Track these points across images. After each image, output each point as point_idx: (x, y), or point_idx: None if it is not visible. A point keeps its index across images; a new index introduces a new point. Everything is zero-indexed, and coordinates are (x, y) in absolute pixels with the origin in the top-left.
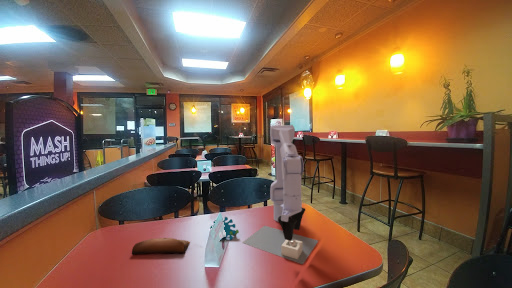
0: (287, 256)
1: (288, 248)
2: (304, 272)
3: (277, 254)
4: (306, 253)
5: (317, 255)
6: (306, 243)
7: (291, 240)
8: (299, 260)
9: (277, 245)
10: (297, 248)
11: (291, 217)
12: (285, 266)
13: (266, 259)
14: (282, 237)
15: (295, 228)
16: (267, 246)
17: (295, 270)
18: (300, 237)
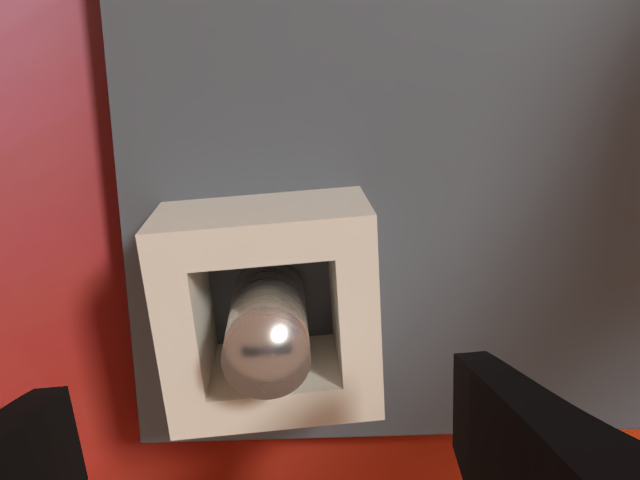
0: None
1: (156, 325)
2: (97, 455)
3: (131, 161)
4: None
5: (402, 463)
6: (526, 347)
7: (266, 346)
8: None
9: (311, 66)
10: (200, 428)
11: (560, 471)
12: (60, 291)
13: (25, 58)
14: (540, 30)
15: (457, 409)
16: None
17: (70, 388)
18: (634, 242)
